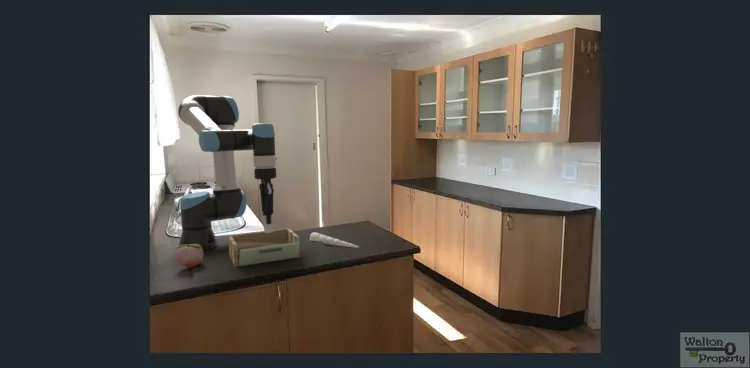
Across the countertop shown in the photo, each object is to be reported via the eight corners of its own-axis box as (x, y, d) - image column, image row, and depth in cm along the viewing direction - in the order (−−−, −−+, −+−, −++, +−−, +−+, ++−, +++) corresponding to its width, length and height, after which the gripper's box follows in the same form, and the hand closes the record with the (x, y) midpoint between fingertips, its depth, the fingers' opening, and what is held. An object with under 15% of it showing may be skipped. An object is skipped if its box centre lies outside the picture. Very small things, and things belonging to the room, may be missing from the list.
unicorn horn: (354, 251, 170) (354, 239, 169) (308, 244, 181) (308, 233, 181) (360, 248, 174) (360, 236, 173) (315, 241, 186) (315, 231, 185)
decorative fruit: (207, 263, 156) (205, 237, 154) (201, 271, 148) (199, 243, 146) (181, 265, 154) (179, 239, 153) (174, 272, 146) (171, 245, 145)
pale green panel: (238, 263, 149) (240, 249, 144) (295, 255, 158) (299, 241, 153) (239, 267, 148) (240, 253, 143) (296, 258, 157) (300, 244, 152)
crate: (229, 257, 162) (228, 235, 161) (289, 249, 173) (288, 228, 172) (235, 270, 148) (233, 245, 147) (300, 259, 159) (299, 237, 157)
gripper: (280, 168, 143) (283, 234, 146) (271, 165, 154) (274, 227, 157) (257, 169, 139) (261, 237, 142) (251, 166, 151) (254, 229, 154)
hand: (268, 232), depth 150 cm, fingers closed
